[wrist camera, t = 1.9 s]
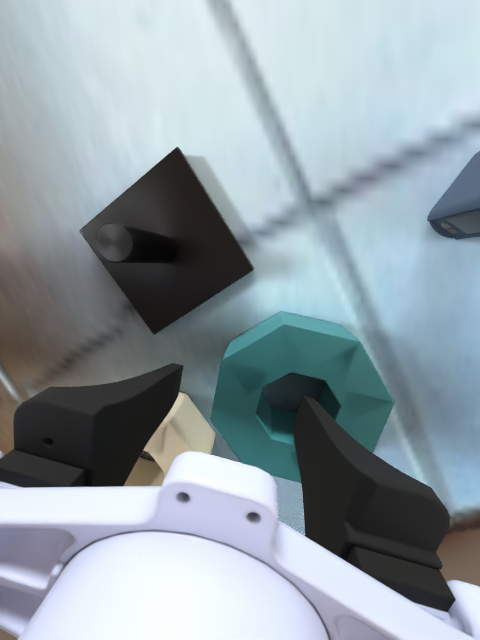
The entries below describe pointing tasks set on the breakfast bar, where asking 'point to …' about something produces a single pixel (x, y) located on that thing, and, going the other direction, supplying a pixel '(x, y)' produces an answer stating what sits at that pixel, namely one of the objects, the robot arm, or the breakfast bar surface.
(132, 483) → the cream ring
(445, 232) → the vaping device
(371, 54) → the breakfast bar surface
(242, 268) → the peg stand
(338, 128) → the breakfast bar surface
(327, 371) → the teal ring
